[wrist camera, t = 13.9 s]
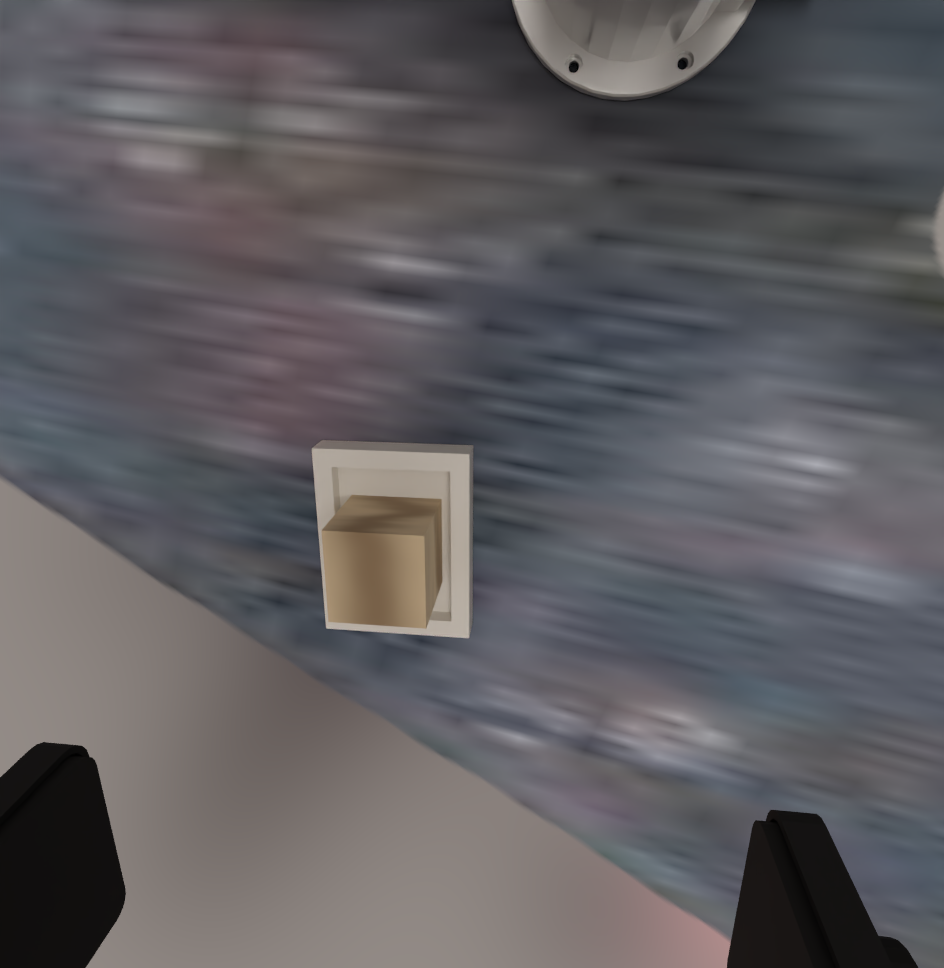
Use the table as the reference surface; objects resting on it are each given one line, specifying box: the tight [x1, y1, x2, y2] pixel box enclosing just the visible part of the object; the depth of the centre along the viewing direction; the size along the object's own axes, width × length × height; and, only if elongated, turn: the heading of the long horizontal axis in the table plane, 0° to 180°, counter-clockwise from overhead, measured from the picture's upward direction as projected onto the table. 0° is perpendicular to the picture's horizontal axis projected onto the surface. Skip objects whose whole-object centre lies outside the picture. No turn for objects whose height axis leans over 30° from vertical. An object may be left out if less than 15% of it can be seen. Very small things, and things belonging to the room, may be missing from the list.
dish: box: [312, 440, 473, 638], centre depth 44 cm, size 10×13×2 cm
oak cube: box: [321, 495, 442, 629], centre depth 41 cm, size 6×6×6 cm
